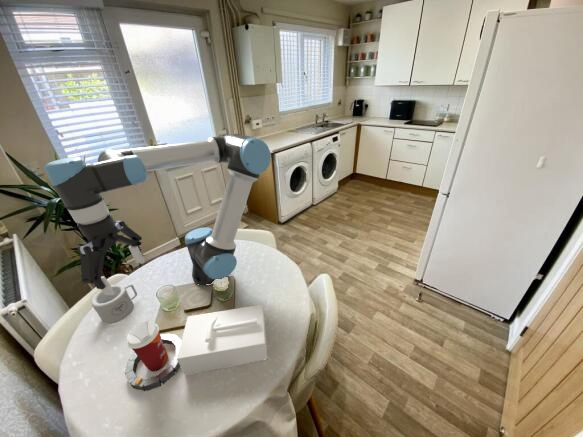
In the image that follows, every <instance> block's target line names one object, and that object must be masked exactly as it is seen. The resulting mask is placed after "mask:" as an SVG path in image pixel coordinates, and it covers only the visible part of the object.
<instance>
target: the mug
mask: <svg viewBox="0 0 583 437" xmlns="http://www.w3.org/2000/svg"><path fill="white" fill-rule="evenodd" d="M110 286H111V287H112V289H113V291H114V292H115V294H114V295H104V293H103V292H102V290H101V289H100V290H99V291H98V292H97V293H96V294H94V296H93V297H92V299H91V302H90V304H91V306H92V307H93V309H94V311H95V312H96V313H97V315H98V317H99V318H100V319H101V321H102V322H103V323H104V324H107V325H111V324H116V323H119V322H121V321H123V320H124V319H126V318H128V317H129V316H130V315H131V313H132V312H133V311H134V308H135V303H134V302H133V300H134V299H135V298H136V297H137V296H138V292H137V291H136V289H135V286H134V285H133V284H128V285H123V284H112V285H110ZM128 288H131V289H132V291H133V293H134V295H133V296H132V297H131V296H130V295H129V293H128V291H127V289H128Z"/></svg>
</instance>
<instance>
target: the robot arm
mask: <svg viewBox="0 0 583 437" xmlns="http://www.w3.org/2000/svg"><path fill="white" fill-rule="evenodd" d="M271 160H272V154H271V150H270V148H269V146H268V144H267V143H266V142H265V141H263V140H262V139H260V138H257V137H254V136H250V135H245V134H240V133H231V134H226V135H220V136H212V137H211V136H210V137H208V138H207V140H202V141H201V140H200V141H191V142H183V143H172V144H163V145H155V146H153V145H152V146H143V147H134V148H127V149H114V148H108V149H107V148H106V149H104V150H102V151H101V152H100V154H99V155H98V157H97V162H92V163H86V162H85V161H84V160H83V159H82V158H81V157H79V156H78V157H76V156H75V157H66V158H61V159H56V160H53V161H50V162H48V163H46V164H45V165H44V167H43V168H44V169H43V170H44V172H45V173H46V176H47V178H48V180H49V181H50V183H51V186H52V187H53V189H54V191H56V193H57V195H58V197H59V198H60V199H61V201H62V203H63V204H64V206H65V208H66V209H67V211H68V213H69V214H70V216H71V217H72V219H73V221H74V222H75V223H76V224H77V225H76V226H77V228H78V229H79V231H80V232H81V234H82V235H83V237H84V238H86V240H87V244H83V245H78V247H77V251H78V254H79V256H80V270H81V272H80V273H81V282H82V284H90V285H91V284H93V285H94V287H96V289H97V290H100V291H101V290H102V292H103V293H104V295H114V294H115V292H114V291H113V289H112V287H111V286H112V285H110V283H109V281H108V279H107V278H106V277H105V275H103V268H104V263H105V261H104V260H105V255H107V254H108V253H107V252H108V250H109V249H111V248H112V246H114V245H116V244H117V242H119V243H122V244H125V245H127V246H128V245H129V246H128V250H129V252H130V253H131V256H132V257H133V259H134V262H135V264H145V263H146V261H145V258H144V256H143V254H142V249H141V247H140V246H141V245H142V242H141V241H142V239H143V238H142V236H140V235H139V234H138V233H137V232H135V231H134V230H132V229H131V228H130V227H129V226H128V225H127V224H126V223H125V221H124V220H114V218H113V216H112V214H111V213H110V210H109V208H108V206H107V204H106V202H105V200H104V198H103V196H102V195H101V194H103V193H106V192H111V191H114V190H118V189H123V188H126V187H130V186H134V185H135V186H136V185H138V184H140V183H144V182H147V181H148V179H149V175H148V172H152V171H159V170H165V169H171V168H172V169H173V168H177V167H178V168H179V167H184V166H190V165H196V164H198V165H199V164H204V163H210V162H213V164H223V163H224V164H228V165H227V172H228V173H229V176H228V179H227V183H226V187H225V189H224V193H223V196H222V199H221V202H220V207H219V209H218V213H217V216H216V219H215V222H214V226H213V228H211V227H208V226H207V227H198V228H194V229H193V230H191V231H190V232H188V233H187V234H186V235H185V236H184V242H185V245H186V248H187V251H188V254H189V257H190V260H191V263H192V270H191V277H192V281H193V282H194V284H196V285H197V284H199V285H198V286H200V285H206V284H211V283H212V282H213V281H214V280H215V279H222V278H223V279H224V278H226V277H228V276H229V275H231V274H232V273H233V272H234V270H235V269H236V267H237V263H238V262H237V258H236V256H235V255H234V254H235V251H236V248H237V244H236V242H235V238H236V237H237V234H238V233H237V232H238V229H239V226H240V223H241V220H242V217H243V214H244V211H245V207H246V205H247V201H248V198H249V195H250V192H251V189H252V186H253V183H254V182H256V181H258V180H259V179H260V178H259V177H260V174H263V173H264V172H265V171H267V170H268V168H269V167H270V164H271V162H272V161H271ZM118 232H121V233H122V234H124V235H125V236H123V235H120V234H118ZM98 250H100V251H98ZM223 279H222V280H223Z"/></svg>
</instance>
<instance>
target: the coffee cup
mask: <svg viewBox="0 0 583 437" xmlns="http://www.w3.org/2000/svg"><path fill="white" fill-rule="evenodd" d="M160 335H161V333H160V328H159V325H158V324H157V323H155V322H154V321H152V320H147V321H143V322H140V323H138V324H136V325H135V326H134V327H132V329H131V330H130V331H129V332H128V334H127V338H126V344H127V346H128V348H129V349H132V351H133V353H134V352H135V353H136V354H137V356H138V357H139V358H140V362H142V364H143V365H144V366H145V367H146V369H147V371H149V372H152V373H155V372H158V371H160V370H162V369H163V368H165V367H166V365H167V363H168V361H169V354H168V352H167V349H166V346H165V344H164V343H163V341H162V338H161V336H160Z"/></svg>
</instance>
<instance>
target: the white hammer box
mask: <svg viewBox="0 0 583 437" xmlns="http://www.w3.org/2000/svg"><path fill="white" fill-rule="evenodd" d="M266 334H267V333H266V319H265V313H264V307H263V304H258V305H251V306H245V307H244V306H243V307H239V308H233V309H232V308H231V309H227V310H220V311H215V312H214V311H212V312H208V313H202V314H195V315H194V314H193V315H188V316H187V318H186V322H185V325H184V330H183V334H182V337H181V345H180V348H179V352H178V356H177V360H178V362H179V364H180V368H181V370H182V372H183V375H184V376H187V375H191V374H192V375H193V374H196V373H202V372H207V371H214V370H217V369H223V368H230V367H234V366H235V367H236V366H239V365H244V364H250V362H252V363H255V362H254V361H257V362H261V361H260V360H263V361H265V360H264V359H267V358H268V347H267V346H268V344H267V335H266ZM266 344H267V345H266Z"/></svg>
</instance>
